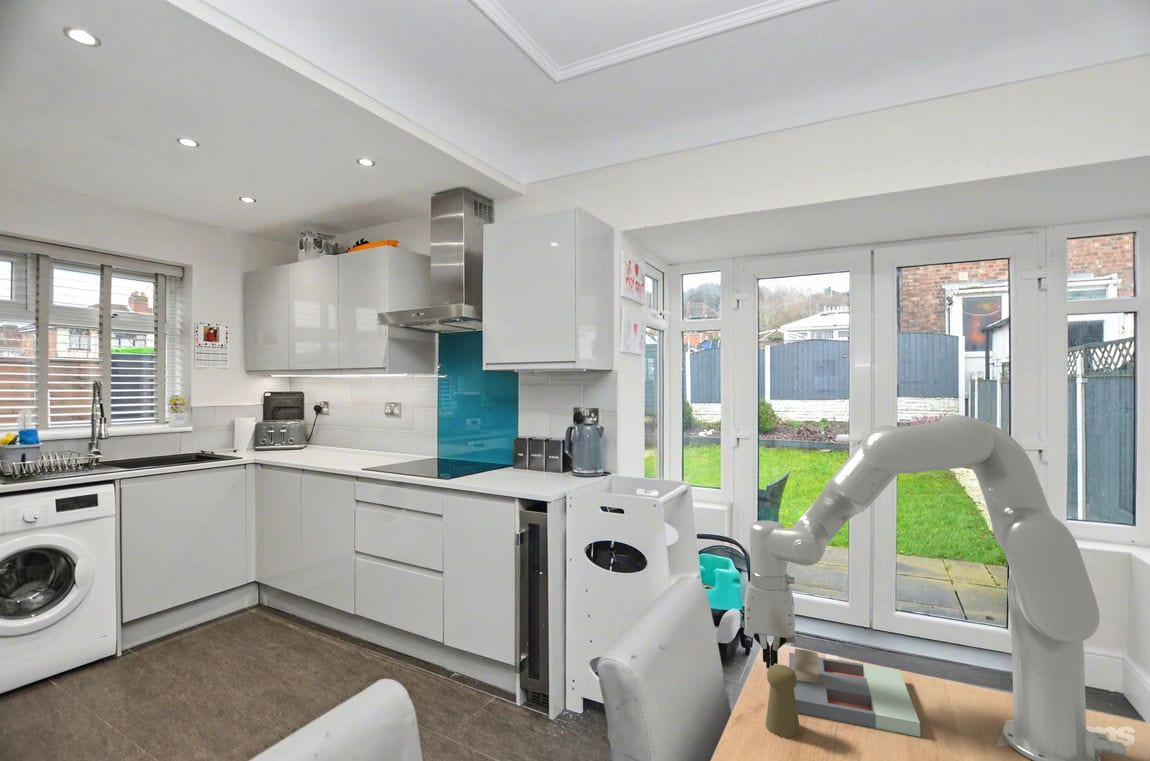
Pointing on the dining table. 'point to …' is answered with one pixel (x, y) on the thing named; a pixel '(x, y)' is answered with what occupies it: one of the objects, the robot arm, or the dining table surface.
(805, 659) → the beech block
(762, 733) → the dining table surface
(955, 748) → the dining table surface
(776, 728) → the olive pawn
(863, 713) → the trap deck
